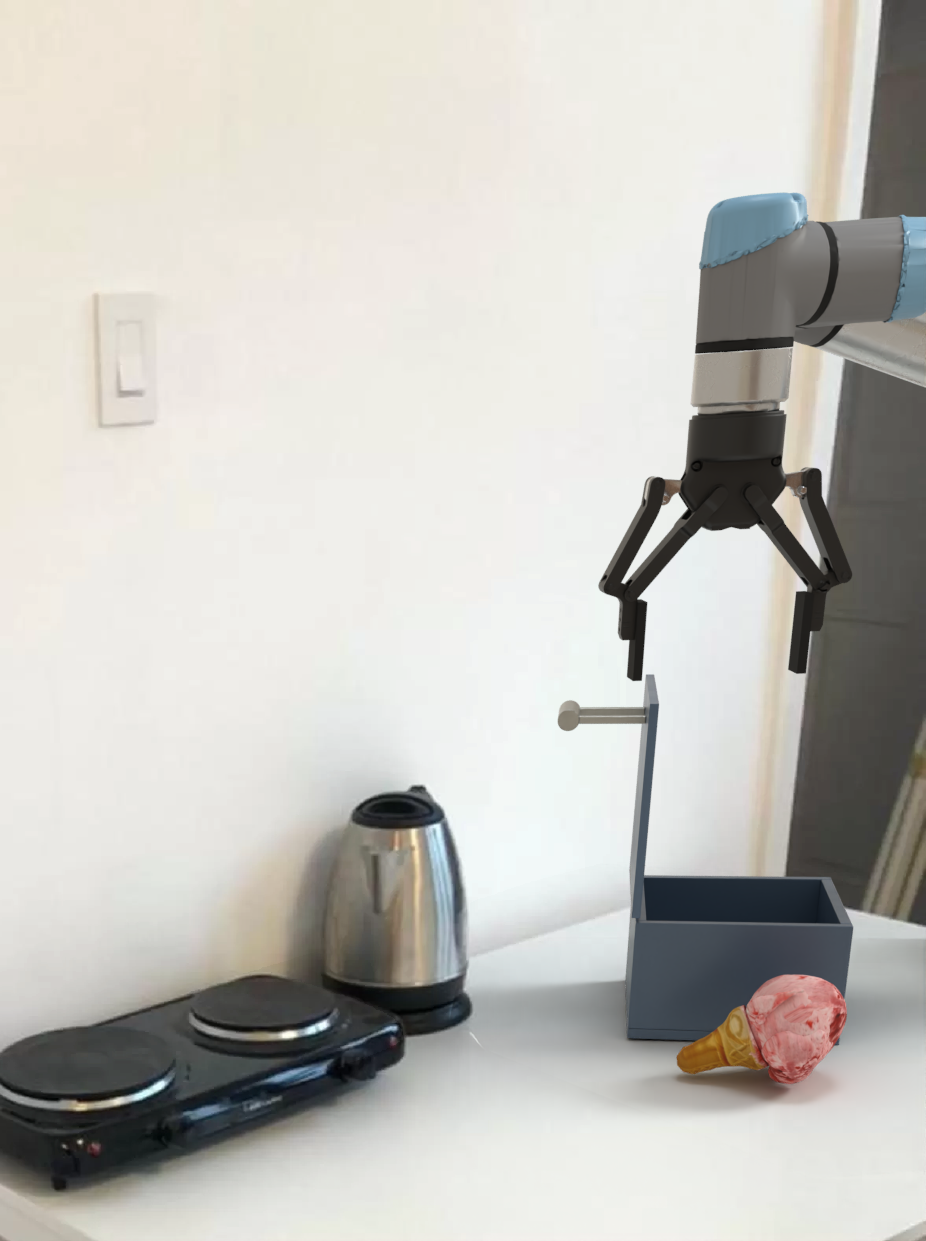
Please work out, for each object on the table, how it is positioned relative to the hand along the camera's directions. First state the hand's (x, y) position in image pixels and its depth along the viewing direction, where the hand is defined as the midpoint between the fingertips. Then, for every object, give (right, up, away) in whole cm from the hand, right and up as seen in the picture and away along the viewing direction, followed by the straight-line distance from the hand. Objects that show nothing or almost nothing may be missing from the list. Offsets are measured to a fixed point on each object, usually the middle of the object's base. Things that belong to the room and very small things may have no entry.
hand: (715, 675), depth 154 cm
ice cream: (+7, -35, +6) cm, 36 cm away
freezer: (+10, -27, +24) cm, 37 cm away
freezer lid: (0, -6, +18) cm, 19 cm away
